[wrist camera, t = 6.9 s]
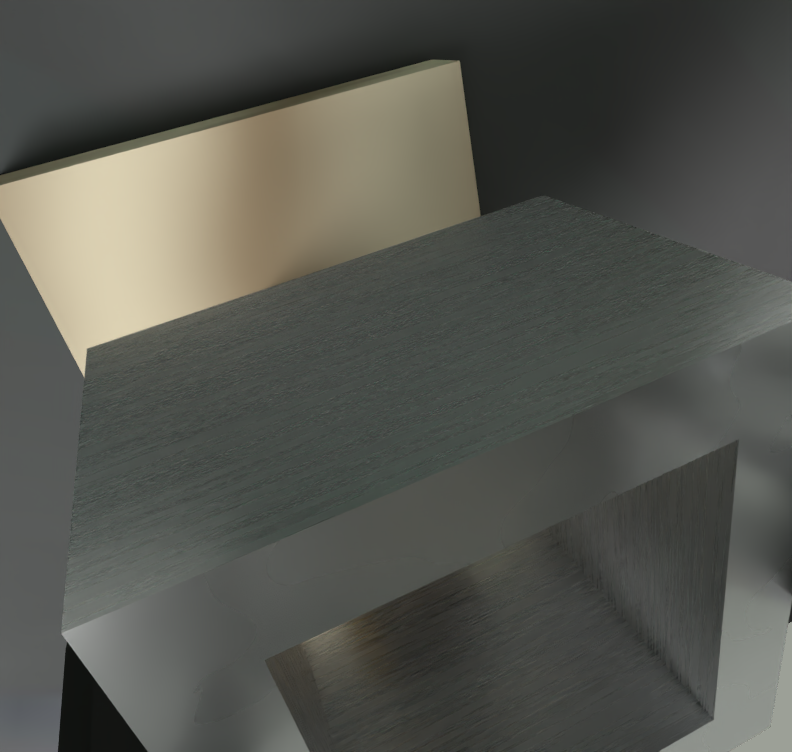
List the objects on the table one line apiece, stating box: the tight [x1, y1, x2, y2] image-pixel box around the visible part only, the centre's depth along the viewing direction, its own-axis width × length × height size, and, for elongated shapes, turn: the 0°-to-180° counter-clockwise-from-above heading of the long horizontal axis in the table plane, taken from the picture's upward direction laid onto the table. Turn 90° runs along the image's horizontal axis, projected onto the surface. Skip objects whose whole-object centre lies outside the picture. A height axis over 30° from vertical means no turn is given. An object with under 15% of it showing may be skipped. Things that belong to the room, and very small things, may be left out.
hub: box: [61, 195, 792, 752], centre depth 9 cm, size 7×7×5 cm
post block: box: [0, 60, 481, 376], centre depth 14 cm, size 10×10×8 cm
